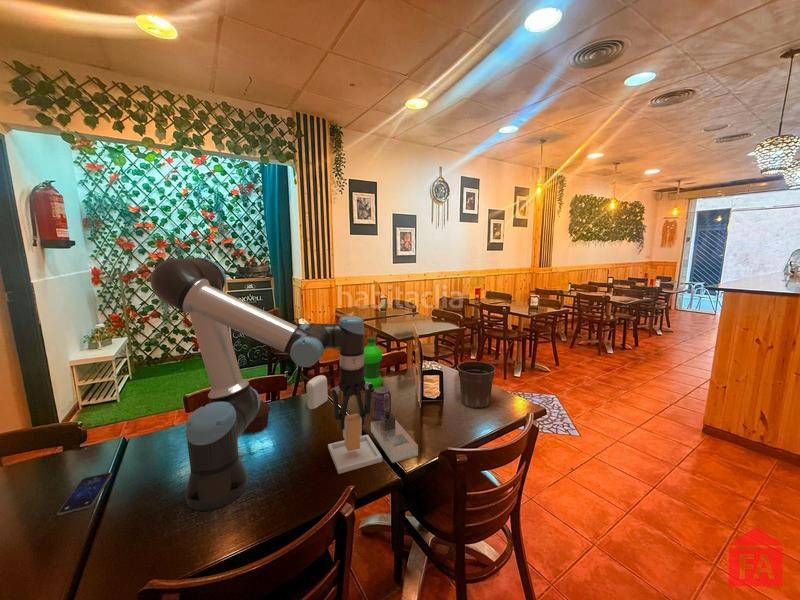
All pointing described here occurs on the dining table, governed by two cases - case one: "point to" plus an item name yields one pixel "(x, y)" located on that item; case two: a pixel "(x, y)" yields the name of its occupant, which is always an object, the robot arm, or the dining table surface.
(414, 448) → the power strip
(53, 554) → the dining table surface
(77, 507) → the smartphone
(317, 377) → the photo printer
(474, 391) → the plant pot
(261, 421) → the muffin
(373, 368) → the plastic bottle
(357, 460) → the tray
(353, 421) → the tan rectangular block
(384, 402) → the beverage can
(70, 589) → the dining table surface
